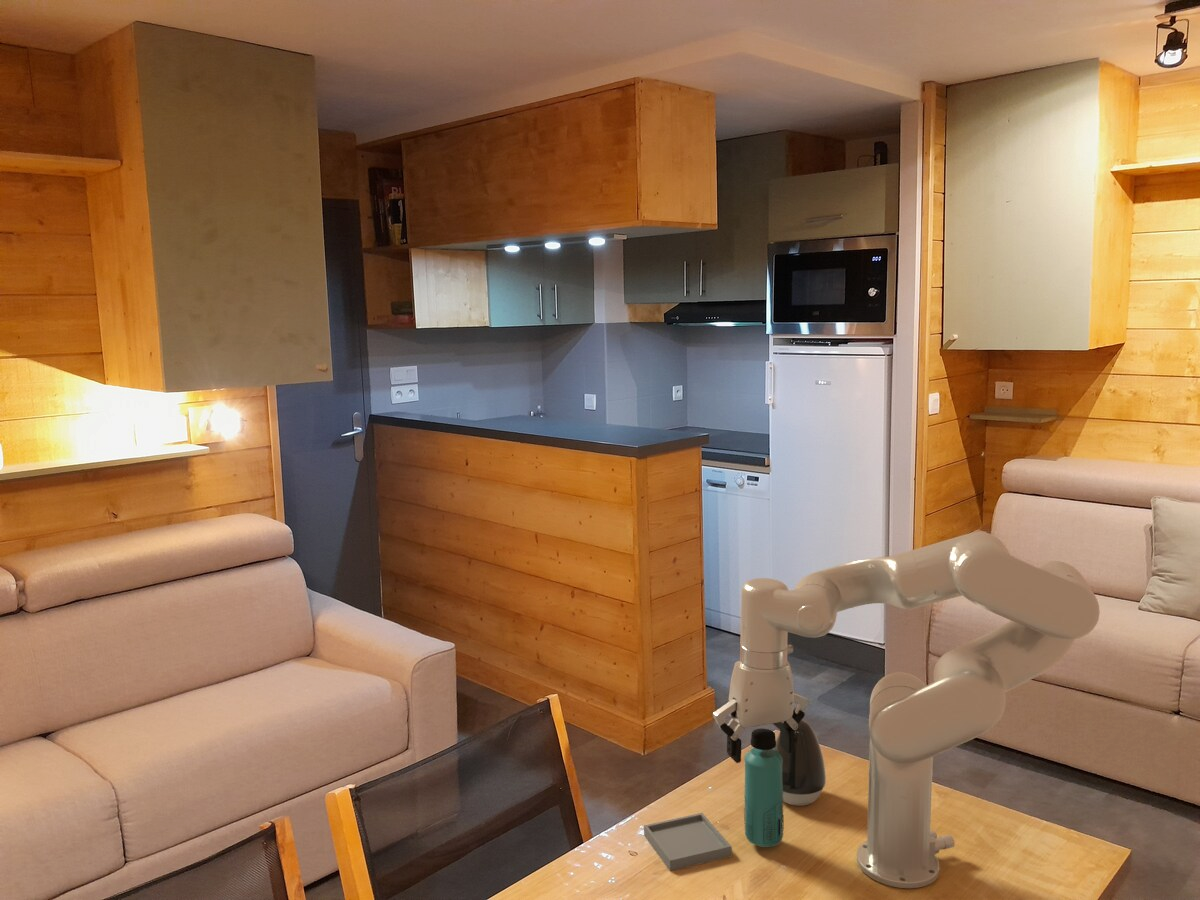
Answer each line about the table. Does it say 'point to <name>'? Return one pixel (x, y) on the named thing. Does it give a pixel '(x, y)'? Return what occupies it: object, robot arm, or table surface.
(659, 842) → the tray
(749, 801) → the beverage bottle
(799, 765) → the pump dispenser
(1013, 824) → the table surface
